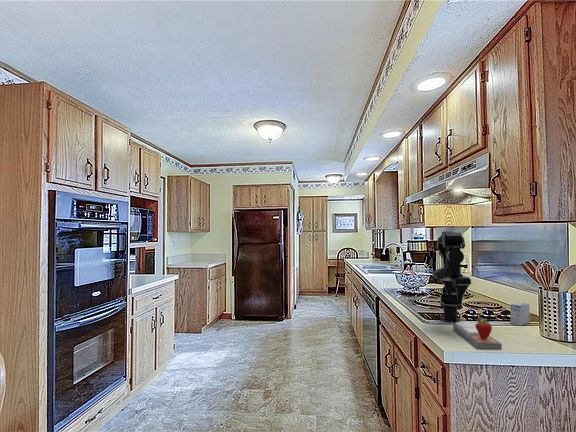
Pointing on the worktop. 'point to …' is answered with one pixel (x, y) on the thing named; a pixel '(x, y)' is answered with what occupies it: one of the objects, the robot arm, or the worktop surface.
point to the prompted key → (483, 340)
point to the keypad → (470, 330)
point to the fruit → (484, 328)
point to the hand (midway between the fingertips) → (454, 298)
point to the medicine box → (519, 313)
